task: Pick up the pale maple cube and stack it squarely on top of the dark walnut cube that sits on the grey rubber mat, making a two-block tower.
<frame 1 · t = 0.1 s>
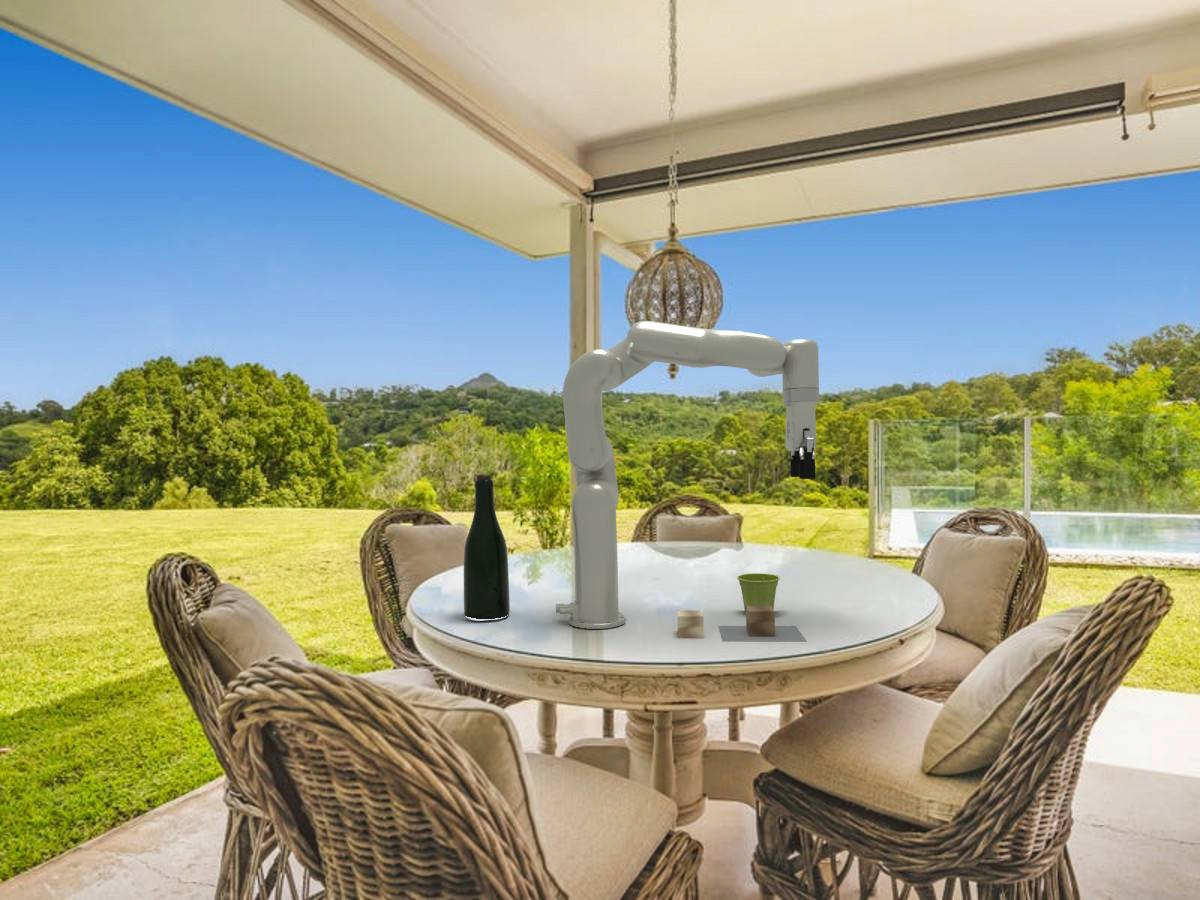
hand: (802, 477, 154), 31 cm above the table, tool pointing down, fingers open, 9 cm apart
maple block: (690, 638, 145), on the table
plant pot: (759, 616, 162), on the table
walnut block: (760, 633, 145), point 1 cm above the table, touching mat
dark wine bottle: (487, 618, 166), on the table
mat: (760, 636, 145), on the table
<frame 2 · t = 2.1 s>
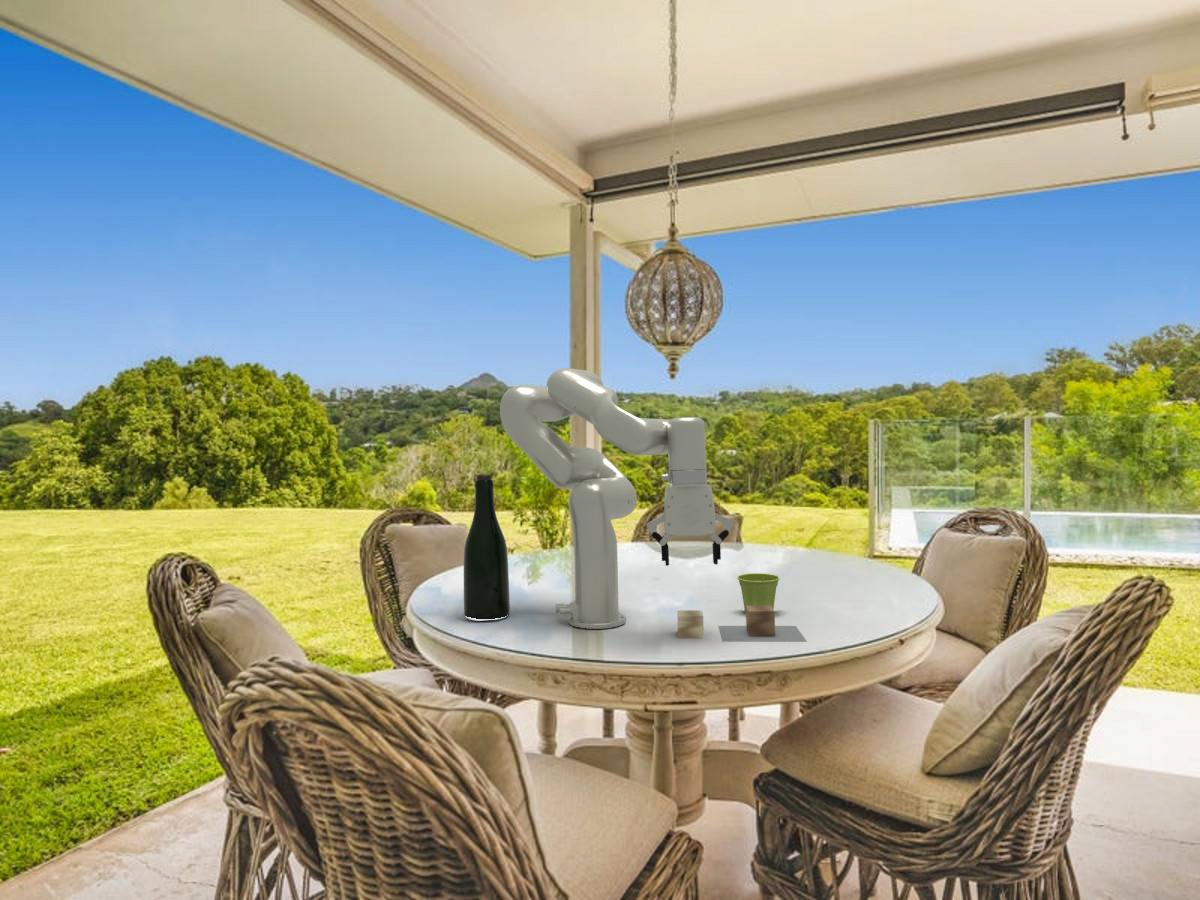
hand: (691, 564, 145), 15 cm above the table, tool pointing down, fingers open, 9 cm apart
nothing on the table moved.
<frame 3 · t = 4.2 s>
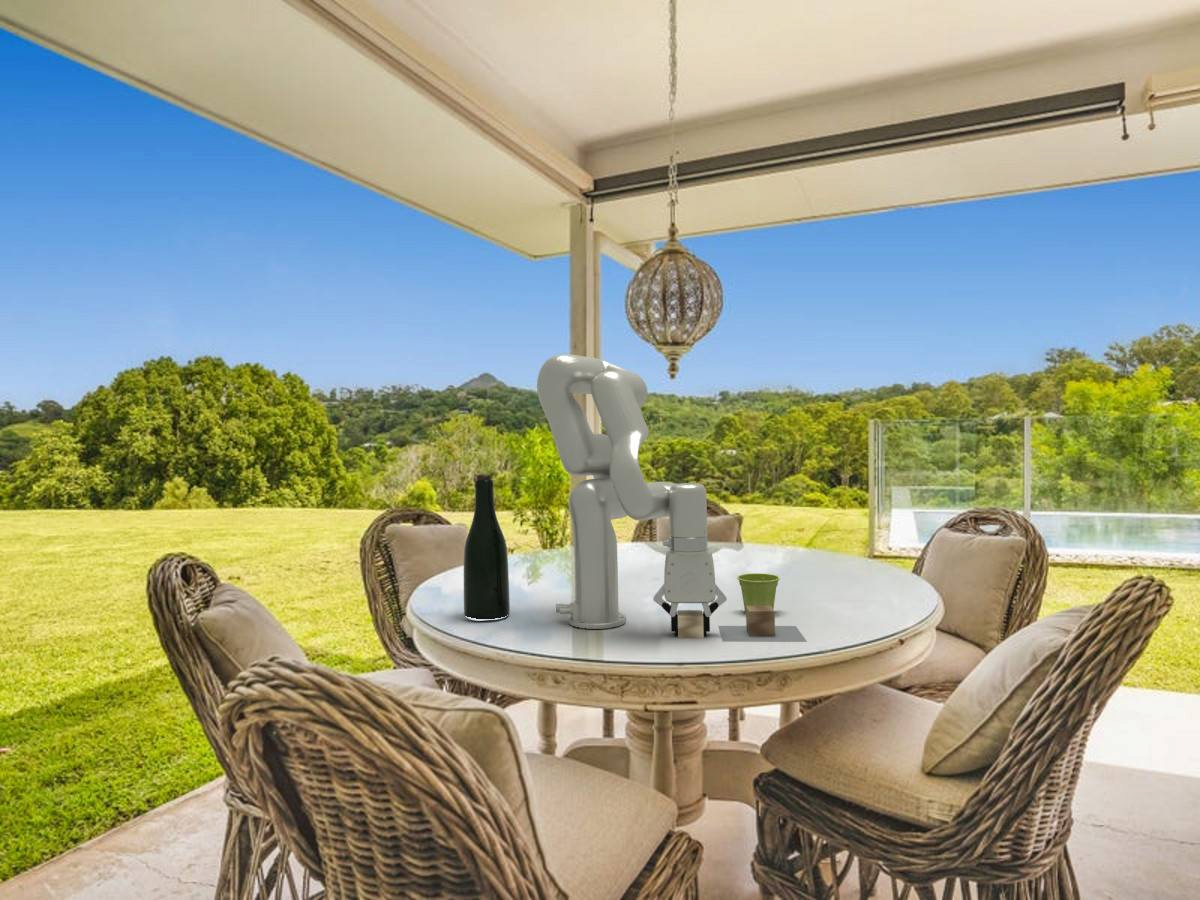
hand: (690, 634, 145), 1 cm above the table, tool pointing down, fingers closed on maple block, 5 cm apart
maple block: (690, 637, 145), on the table, touching gripper
everything else where it was.
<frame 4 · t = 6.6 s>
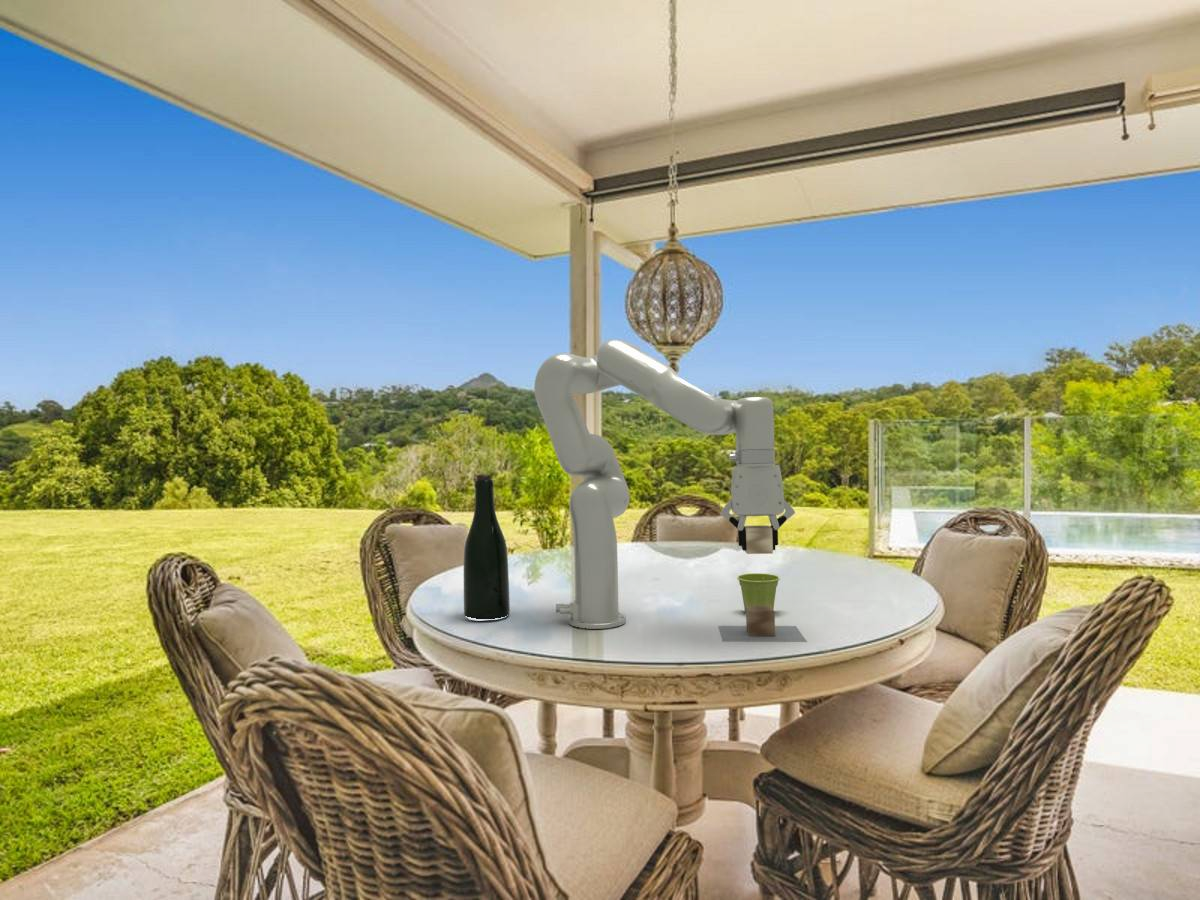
hand: (758, 548, 144), 18 cm above the table, tool pointing down, fingers closed on maple block, 5 cm apart
maple block: (758, 551, 144), point 17 cm above the table, touching gripper
everything else where it was.
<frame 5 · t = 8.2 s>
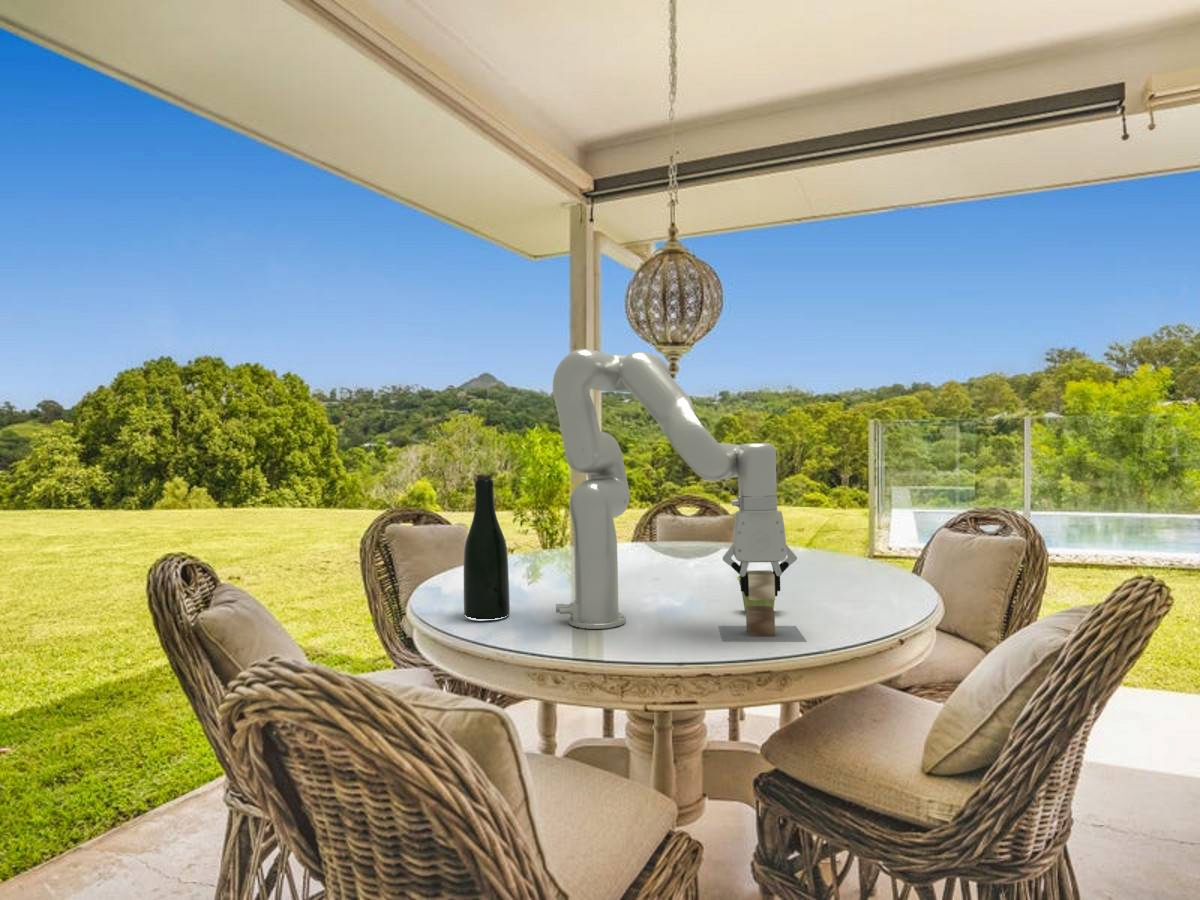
hand: (760, 594, 145), 8 cm above the table, tool pointing down, fingers closed on maple block, 5 cm apart
maple block: (760, 597, 144), point 8 cm above the table, touching gripper
everything else where it was.
when the fingers open (8 cm above the table, at t = 9.2 s): maple block drops 1 cm, resting on walnut block.
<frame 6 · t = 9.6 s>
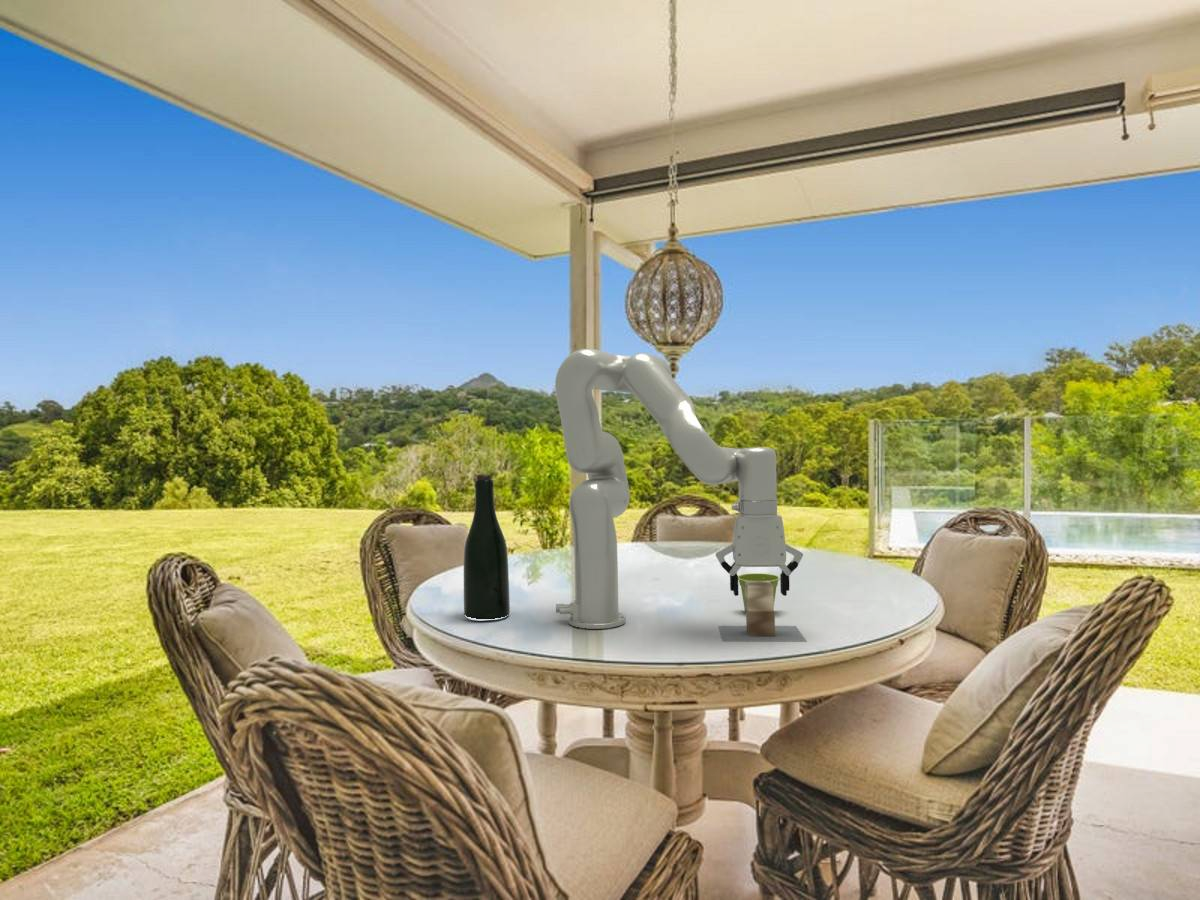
hand: (759, 594, 145), 8 cm above the table, tool pointing down, fingers open, 9 cm apart
maple block: (759, 608, 145), point 6 cm above the table, touching walnut block
walnut block: (760, 633, 145), point 1 cm above the table, touching maple block, mat
everything else where it was.
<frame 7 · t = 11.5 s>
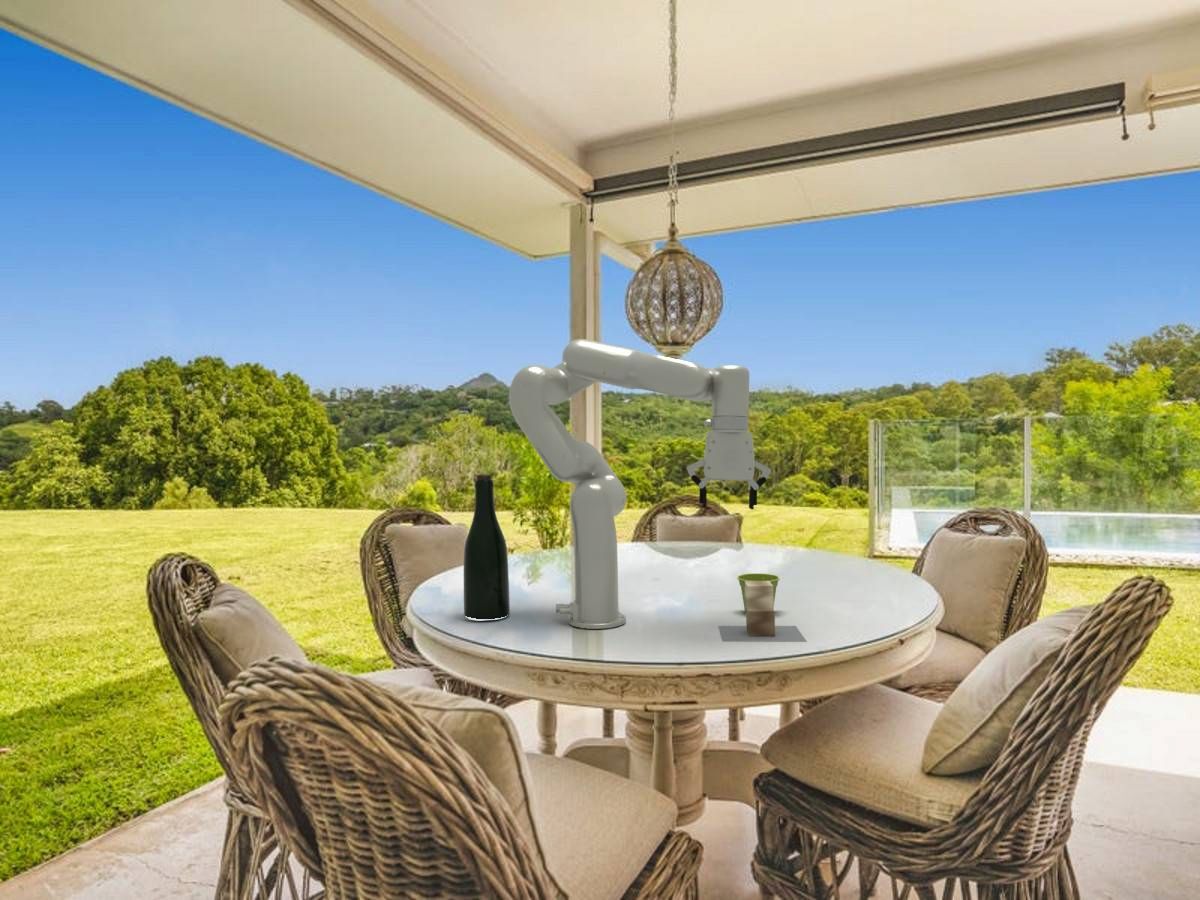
hand: (727, 507, 150), 25 cm above the table, tool pointing down, fingers open, 9 cm apart
nothing on the table moved.
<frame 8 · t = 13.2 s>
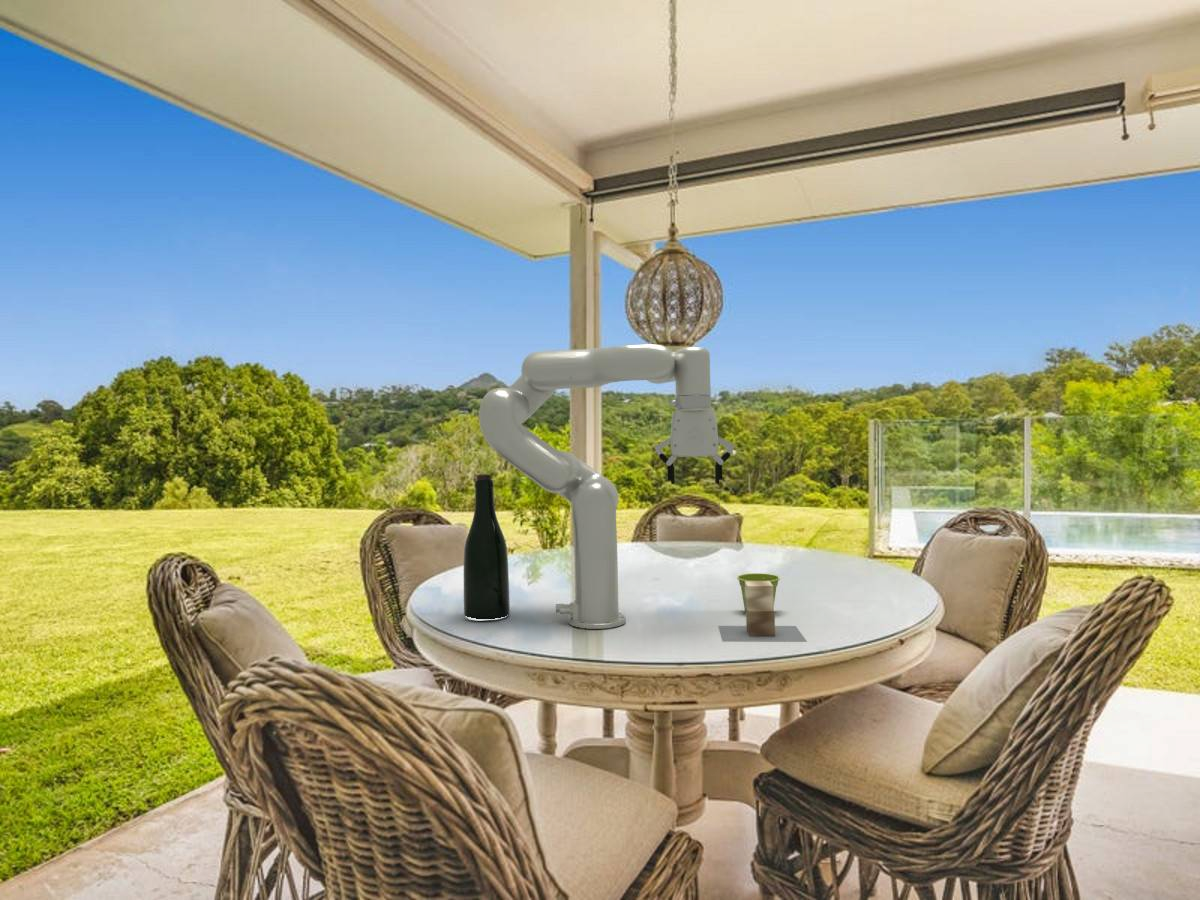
hand: (695, 483, 157), 30 cm above the table, tool pointing down, fingers open, 9 cm apart
nothing on the table moved.
at the end: maple block 0.2 cm off-centre on the walnut block, point 5.0 cm above the walnut block's base; maple block tilted 0°; walnut block moved 0.0 cm from its start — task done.
